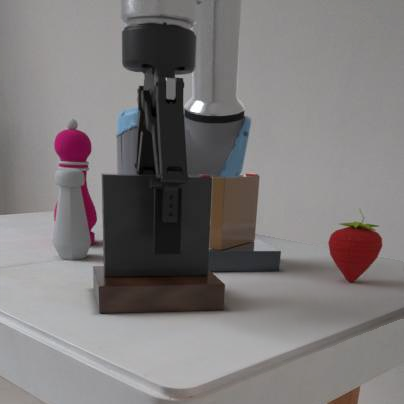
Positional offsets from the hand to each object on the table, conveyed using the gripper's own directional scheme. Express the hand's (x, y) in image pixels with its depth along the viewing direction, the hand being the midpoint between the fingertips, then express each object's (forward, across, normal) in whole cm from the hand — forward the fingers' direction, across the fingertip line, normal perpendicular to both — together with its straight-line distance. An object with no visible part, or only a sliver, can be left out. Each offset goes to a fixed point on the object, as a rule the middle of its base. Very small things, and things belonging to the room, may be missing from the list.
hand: (156, 242), depth 64 cm
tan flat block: (+4, +19, -15) cm, 24 cm away
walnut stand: (+7, 0, 0) cm, 7 cm away
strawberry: (+7, +7, -29) cm, 31 cm away
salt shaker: (+7, +25, +9) cm, 27 cm away
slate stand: (+7, +19, -15) cm, 25 cm away
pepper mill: (+7, +37, +8) cm, 38 cm away
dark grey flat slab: (+4, 0, 0) cm, 4 cm away
